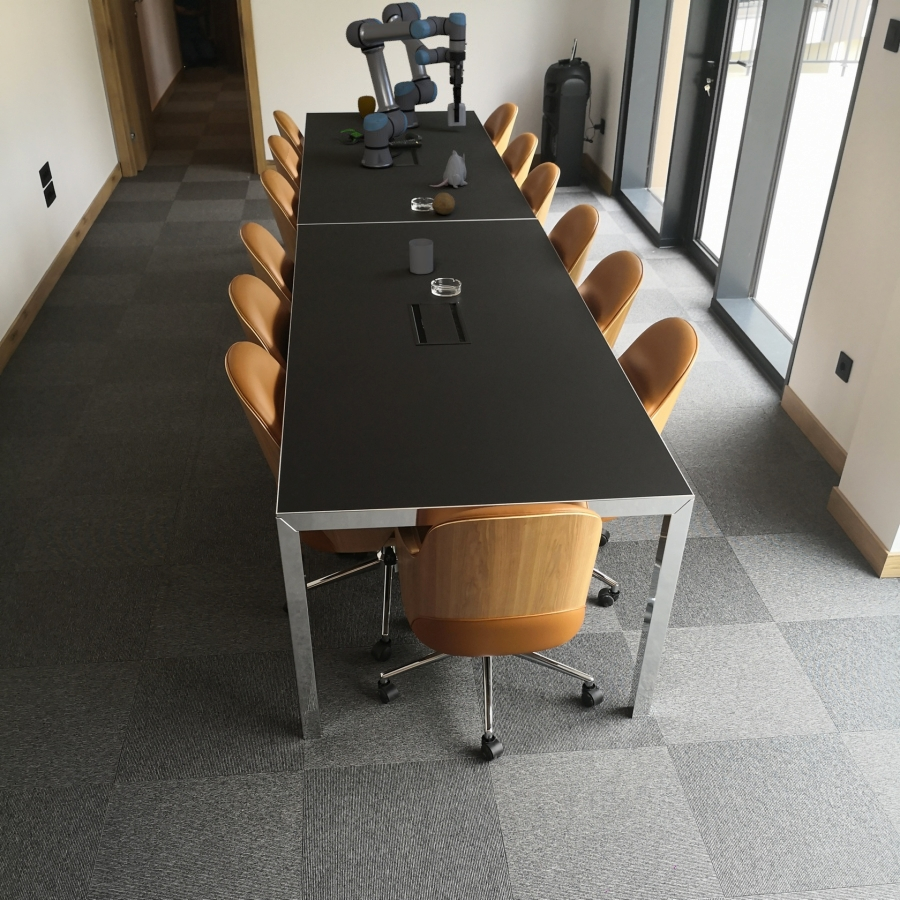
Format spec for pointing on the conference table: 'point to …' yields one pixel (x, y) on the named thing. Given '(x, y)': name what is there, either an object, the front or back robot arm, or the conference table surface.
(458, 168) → the toy
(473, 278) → the conference table surface
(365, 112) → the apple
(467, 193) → the conference table surface
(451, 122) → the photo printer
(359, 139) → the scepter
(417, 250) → the cup
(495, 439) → the conference table surface
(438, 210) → the potato
